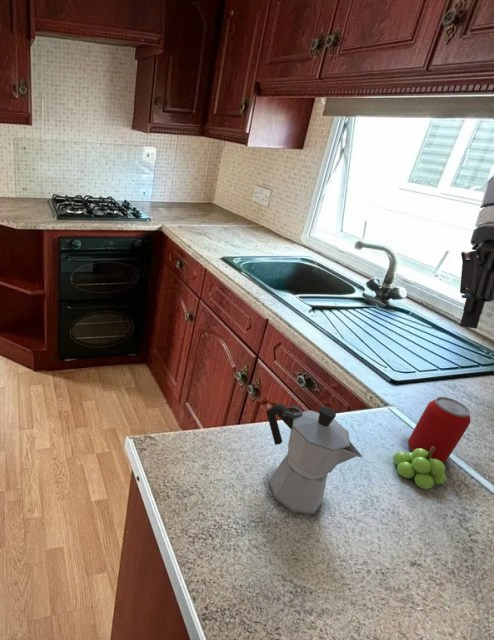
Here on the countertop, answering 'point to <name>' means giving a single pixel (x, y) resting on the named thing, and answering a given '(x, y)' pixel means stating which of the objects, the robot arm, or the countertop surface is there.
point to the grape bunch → (420, 467)
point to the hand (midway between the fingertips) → (468, 327)
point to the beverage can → (440, 427)
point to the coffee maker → (307, 455)
